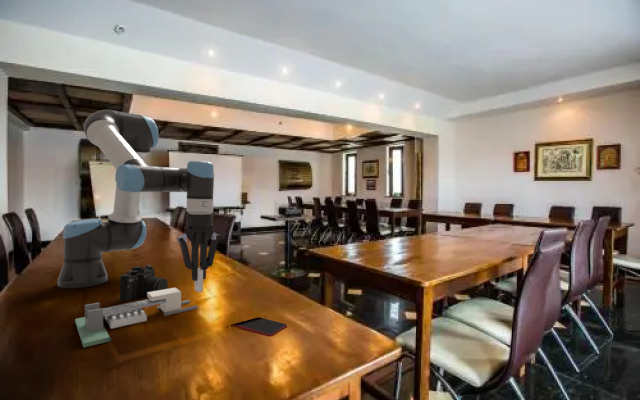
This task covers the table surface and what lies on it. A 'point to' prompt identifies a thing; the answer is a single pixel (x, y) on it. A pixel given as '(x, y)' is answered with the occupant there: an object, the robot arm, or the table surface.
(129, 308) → the grey board dark edge
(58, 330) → the table surface
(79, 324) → the heatsink board
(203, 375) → the table surface
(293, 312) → the table surface
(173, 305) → the white stepped block
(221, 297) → the table surface
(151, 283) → the camera
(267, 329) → the smartphone
